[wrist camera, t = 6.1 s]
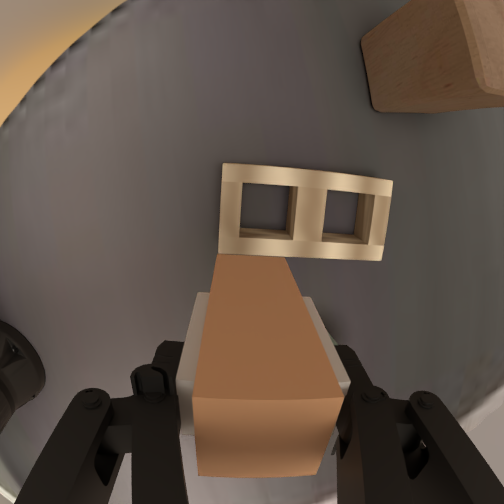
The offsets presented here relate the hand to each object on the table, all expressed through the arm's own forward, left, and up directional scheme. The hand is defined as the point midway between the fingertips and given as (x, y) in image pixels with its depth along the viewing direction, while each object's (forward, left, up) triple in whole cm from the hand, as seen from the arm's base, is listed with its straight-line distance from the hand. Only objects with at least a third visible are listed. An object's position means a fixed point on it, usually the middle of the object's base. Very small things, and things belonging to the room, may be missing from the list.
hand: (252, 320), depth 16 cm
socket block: (+7, +3, -22) cm, 23 cm away
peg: (0, 0, -4) cm, 4 cm away
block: (+18, +21, -22) cm, 35 cm away
